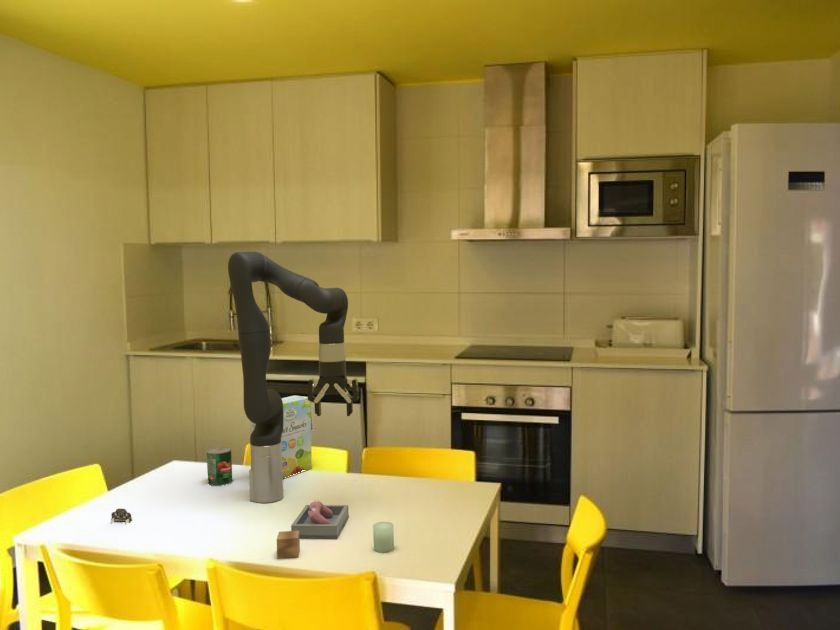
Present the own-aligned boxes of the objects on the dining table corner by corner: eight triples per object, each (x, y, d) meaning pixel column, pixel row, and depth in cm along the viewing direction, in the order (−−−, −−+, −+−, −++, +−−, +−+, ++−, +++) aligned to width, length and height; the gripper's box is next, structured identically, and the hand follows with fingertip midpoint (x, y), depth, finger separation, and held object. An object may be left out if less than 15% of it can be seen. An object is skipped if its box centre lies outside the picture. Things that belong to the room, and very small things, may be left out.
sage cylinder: (372, 552, 177) (371, 528, 176) (375, 544, 182) (374, 521, 181) (392, 553, 176) (391, 529, 176) (395, 545, 181) (394, 521, 181)
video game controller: (320, 522, 200) (308, 500, 199) (334, 514, 200) (322, 493, 199) (316, 535, 190) (303, 513, 189) (331, 527, 190) (318, 505, 189)
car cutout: (103, 528, 200) (102, 512, 200) (117, 519, 206) (116, 504, 206) (152, 530, 197) (151, 514, 197) (165, 521, 204) (164, 506, 203)
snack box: (269, 486, 233) (266, 407, 231) (250, 482, 238) (246, 405, 236) (314, 469, 251) (311, 396, 249) (295, 465, 256) (292, 394, 254)
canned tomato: (228, 486, 234) (227, 452, 233) (204, 486, 234) (203, 453, 233) (235, 478, 242) (234, 446, 241) (212, 479, 242) (210, 447, 241)
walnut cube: (277, 559, 174) (276, 539, 174) (279, 551, 179) (278, 531, 179) (298, 558, 175) (297, 538, 174) (299, 550, 180) (299, 530, 179)
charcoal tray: (291, 538, 187) (291, 525, 187) (306, 517, 203) (306, 504, 203) (337, 539, 186) (336, 525, 186) (348, 517, 202) (348, 505, 202)
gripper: (304, 360, 200) (306, 418, 201) (354, 360, 199) (356, 418, 200) (310, 357, 207) (312, 413, 209) (359, 356, 206) (361, 412, 207)
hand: (334, 415), depth 204 cm, fingers open, 8 cm apart
